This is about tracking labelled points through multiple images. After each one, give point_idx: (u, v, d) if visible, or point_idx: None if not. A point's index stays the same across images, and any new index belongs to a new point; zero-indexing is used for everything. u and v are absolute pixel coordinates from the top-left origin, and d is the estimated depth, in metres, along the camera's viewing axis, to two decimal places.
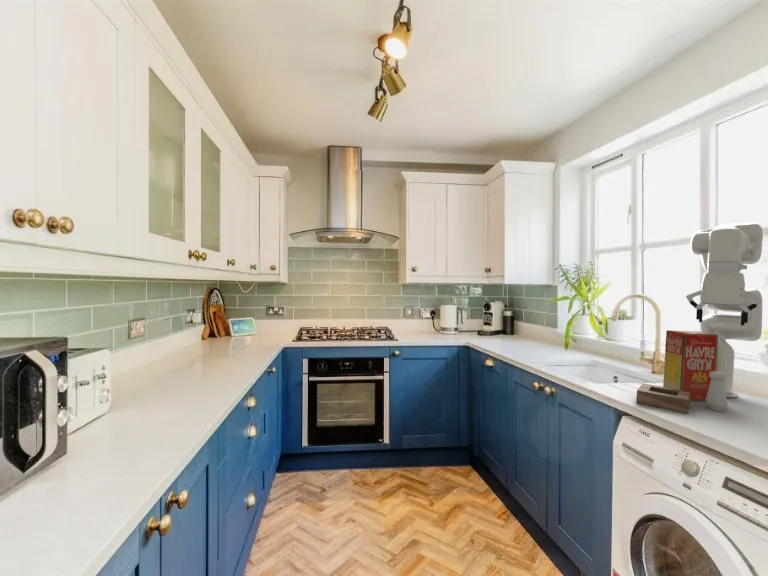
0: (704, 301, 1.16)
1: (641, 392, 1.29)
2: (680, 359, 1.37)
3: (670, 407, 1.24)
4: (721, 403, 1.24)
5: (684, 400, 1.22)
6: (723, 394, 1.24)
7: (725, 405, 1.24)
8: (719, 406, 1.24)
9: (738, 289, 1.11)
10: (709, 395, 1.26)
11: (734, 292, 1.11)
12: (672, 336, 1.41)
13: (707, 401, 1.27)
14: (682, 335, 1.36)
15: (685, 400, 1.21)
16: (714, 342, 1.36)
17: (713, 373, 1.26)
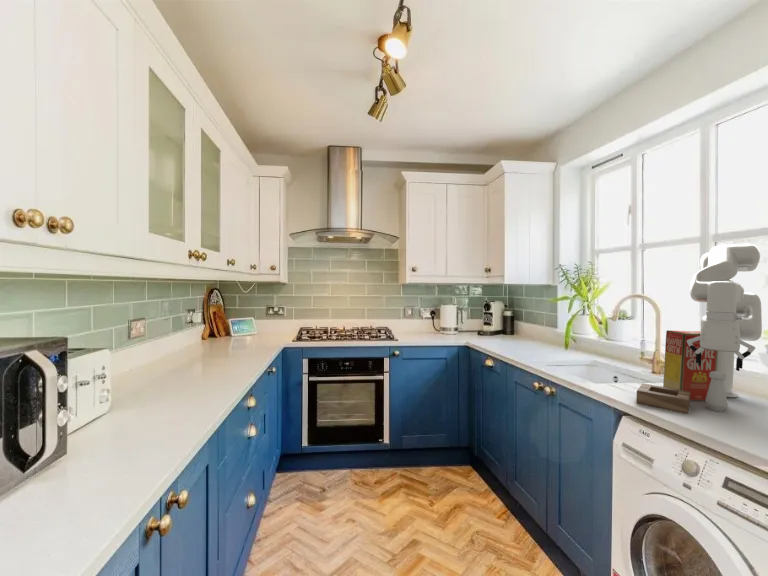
0: (703, 346, 1.27)
1: (641, 392, 1.29)
2: (680, 359, 1.37)
3: (670, 407, 1.24)
4: (721, 403, 1.24)
5: (684, 400, 1.22)
6: (723, 394, 1.24)
7: (725, 405, 1.24)
8: (719, 406, 1.24)
9: (734, 337, 1.22)
10: (709, 395, 1.26)
11: (730, 340, 1.22)
12: (672, 336, 1.41)
13: (707, 401, 1.27)
14: (682, 335, 1.36)
15: (685, 400, 1.21)
16: None
17: (713, 373, 1.26)
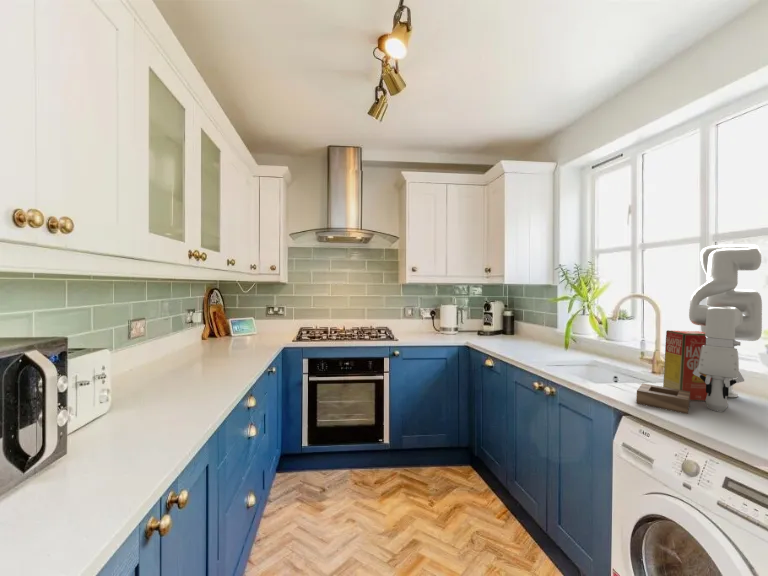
0: (702, 372, 1.27)
1: (641, 392, 1.29)
2: (680, 359, 1.37)
3: (670, 407, 1.24)
4: (721, 403, 1.24)
5: (684, 400, 1.22)
6: None
7: (725, 405, 1.24)
8: (719, 406, 1.24)
9: (732, 364, 1.22)
10: None
11: (729, 366, 1.23)
12: (672, 336, 1.41)
13: (707, 401, 1.27)
14: (682, 335, 1.36)
15: (685, 400, 1.21)
16: None
17: None
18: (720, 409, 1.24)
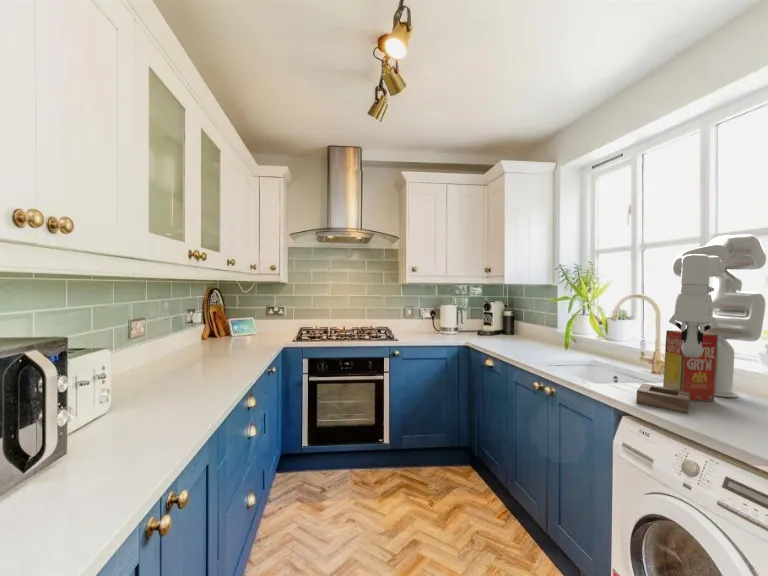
0: (677, 319, 1.29)
1: (641, 392, 1.29)
2: (680, 359, 1.37)
3: (670, 407, 1.24)
4: (696, 348, 1.26)
5: (684, 400, 1.22)
6: None
7: (700, 350, 1.25)
8: (694, 351, 1.26)
9: (707, 309, 1.24)
10: (685, 342, 1.28)
11: (703, 312, 1.25)
12: (672, 336, 1.41)
13: (683, 348, 1.28)
14: None
15: (685, 400, 1.21)
16: (714, 342, 1.36)
17: None
18: (695, 355, 1.26)
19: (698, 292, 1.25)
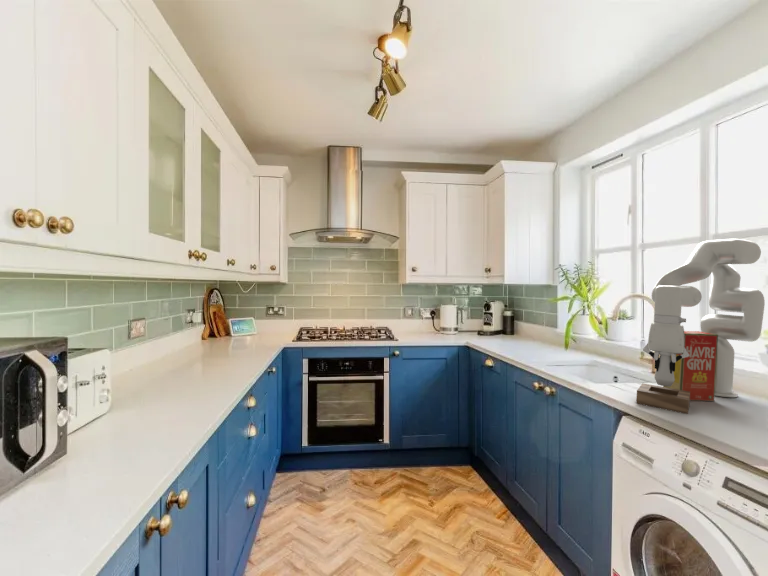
0: (650, 348, 1.32)
1: (641, 392, 1.29)
2: (680, 359, 1.37)
3: (670, 407, 1.24)
4: (668, 378, 1.28)
5: (684, 400, 1.22)
6: None
7: (672, 380, 1.28)
8: (666, 380, 1.28)
9: (678, 340, 1.27)
10: None
11: (675, 342, 1.27)
12: None
13: (656, 377, 1.31)
14: None
15: (685, 400, 1.21)
16: (714, 342, 1.36)
17: None
18: (667, 384, 1.29)
19: (669, 323, 1.27)
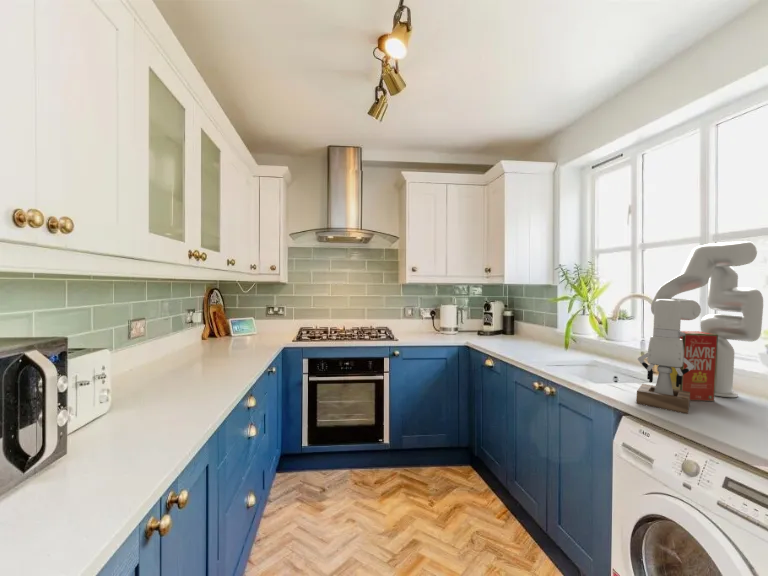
0: (650, 362, 1.32)
1: (641, 392, 1.29)
2: None
3: (670, 407, 1.24)
4: None
5: (684, 400, 1.22)
6: (669, 387, 1.29)
7: None
8: None
9: (677, 354, 1.27)
10: (657, 388, 1.31)
11: (674, 356, 1.27)
12: None
13: None
14: None
15: (685, 400, 1.21)
16: (714, 342, 1.36)
17: (660, 367, 1.31)
18: None
19: (669, 337, 1.27)
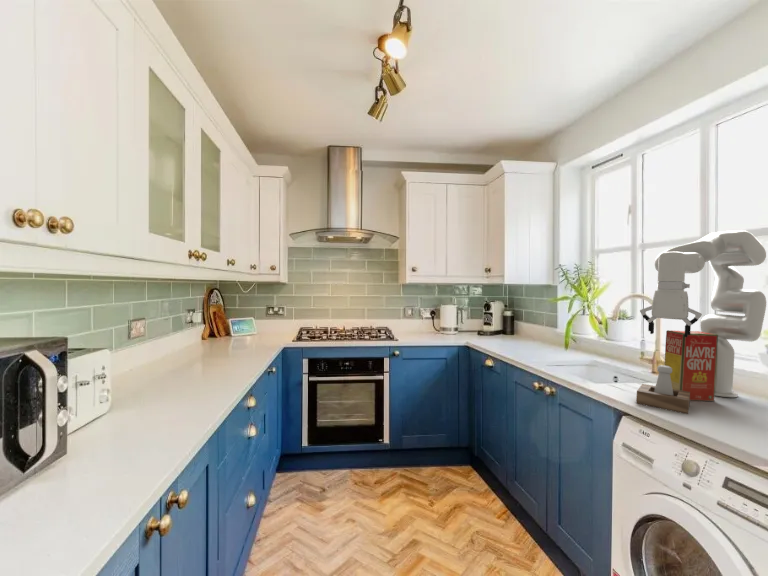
0: (654, 315, 1.32)
1: (641, 392, 1.29)
2: (680, 359, 1.37)
3: (670, 407, 1.24)
4: None
5: (684, 400, 1.22)
6: (669, 387, 1.29)
7: None
8: None
9: (682, 305, 1.26)
10: (657, 388, 1.31)
11: (678, 308, 1.27)
12: (672, 336, 1.41)
13: None
14: (682, 335, 1.36)
15: (685, 400, 1.21)
16: (714, 342, 1.36)
17: (660, 367, 1.31)
18: None
19: (673, 289, 1.27)
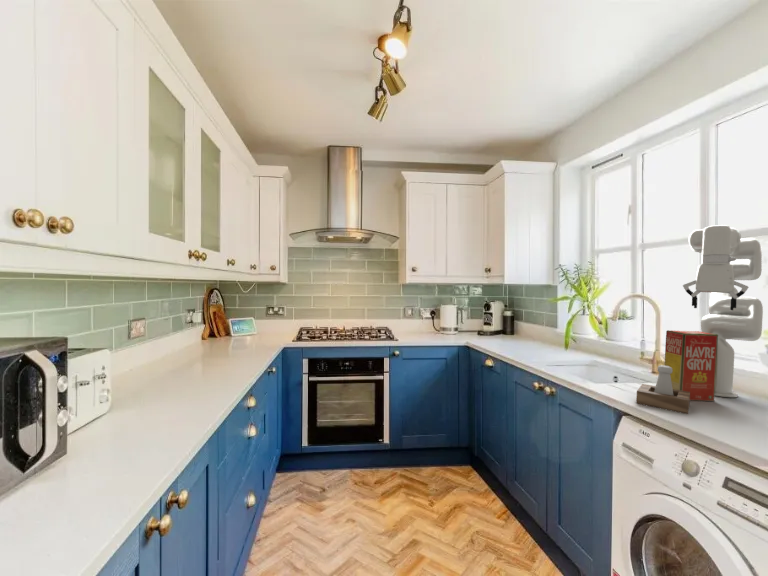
0: (698, 289, 1.32)
1: (641, 392, 1.29)
2: (680, 359, 1.37)
3: (670, 407, 1.24)
4: None
5: (684, 400, 1.22)
6: (669, 387, 1.29)
7: None
8: None
9: (728, 278, 1.27)
10: (657, 388, 1.31)
11: (724, 281, 1.27)
12: (672, 336, 1.41)
13: None
14: (682, 335, 1.36)
15: (685, 400, 1.21)
16: (714, 342, 1.36)
17: (660, 367, 1.31)
18: None
19: (719, 262, 1.27)
